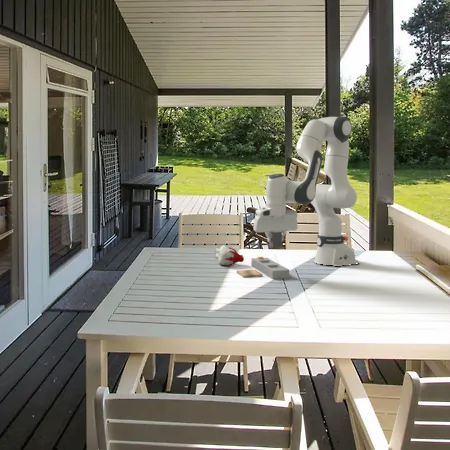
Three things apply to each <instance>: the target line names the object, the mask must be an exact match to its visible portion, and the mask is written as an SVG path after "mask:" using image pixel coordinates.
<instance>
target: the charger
mask: <svg viewBox="0 0 450 450" xmlns="http://www.w3.org/2000/svg"><path fill="white" fill-rule="evenodd" d="M269 236H270V237H271V238H272V242H268V243H269V245H268V247H270V248H272V249H277V248H278V249H279V248H283V247H282V246H283V245H282V242H283V241H282V232H281V231H274V232H270V234H269Z"/></svg>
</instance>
